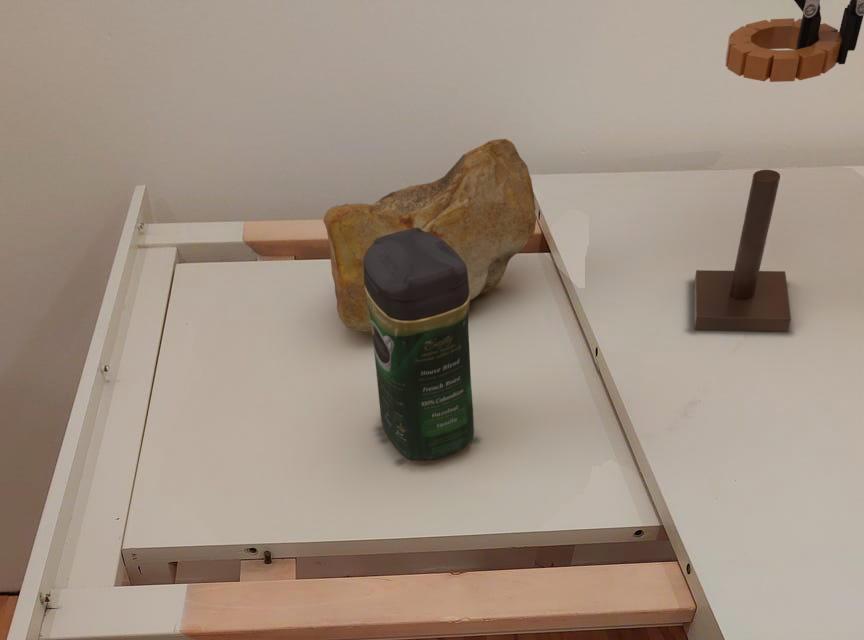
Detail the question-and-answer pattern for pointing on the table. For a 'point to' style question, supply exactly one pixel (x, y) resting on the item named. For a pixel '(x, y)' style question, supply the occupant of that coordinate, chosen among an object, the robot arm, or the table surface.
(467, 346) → the coffee jar
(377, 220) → the rough brown rock
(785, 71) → the ring
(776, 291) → the post stand
